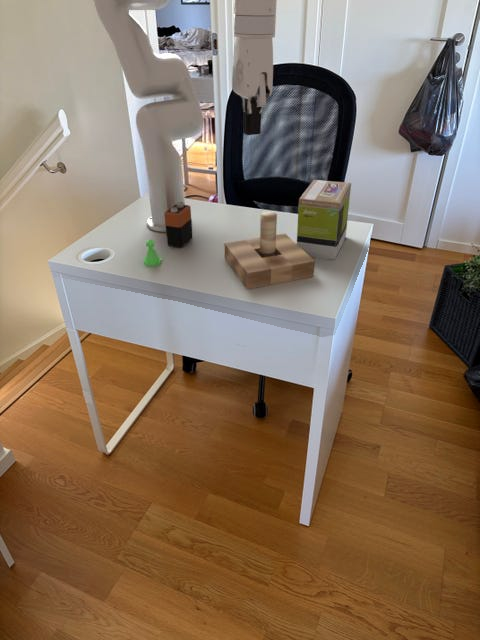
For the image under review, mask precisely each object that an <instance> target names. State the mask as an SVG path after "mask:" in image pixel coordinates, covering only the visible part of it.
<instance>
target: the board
mask: <svg viewBox="0 0 480 640" xmlns="http://www.w3.org/2000/svg"><path fill="white" fill-rule="evenodd" d="M223 248H224V250H223V251H224V259H225V261H226V262H227V263H228V265H229V266H230V267H231V269H232V270H233V272H234V273H235V274H236V276H237V277H238V279H239V280H240V282H241V283H242V284H243V285H244V286H245V288H246V289H247V290H250V289H257V288H261V287H265V286H272V285H277V284H282V283H288V282H294V281H298V280H304V279H309V278H313V277H314V275H315V265H316V264H315V263H316V261H315V259H313V257H310V256H309V255H308V254H307V253H306V252H305V251H304V250H302V249H301V248H300V247H299V246H298V245H297V242H295V241H294V240H293V239H292V238H291V237H290V236H288V234H286V233H281V234H276V253H275V256H271V257H265V258H261V256H260V252H259V249H260V237H254V238H249V239H243V240H242V239H241V240H236V241H235V240H234V241H229V242H224V243H223Z"/></svg>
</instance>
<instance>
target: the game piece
mask: <svg viewBox="0 0 480 640" xmlns="http://www.w3.org/2000/svg"><path fill="white" fill-rule="evenodd" d="M155 242H156V241H155V240H152V239H147V240H146V241H145V247H146V248H148V249H147V252H146V256H145V257H144V259H143V265H145V266H146V267H157V266H159V265H161V263H162V257H160V256H159V255H158V254H157V252H156V249H154V247H156V245H155V244H156V243H155Z"/></svg>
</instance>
